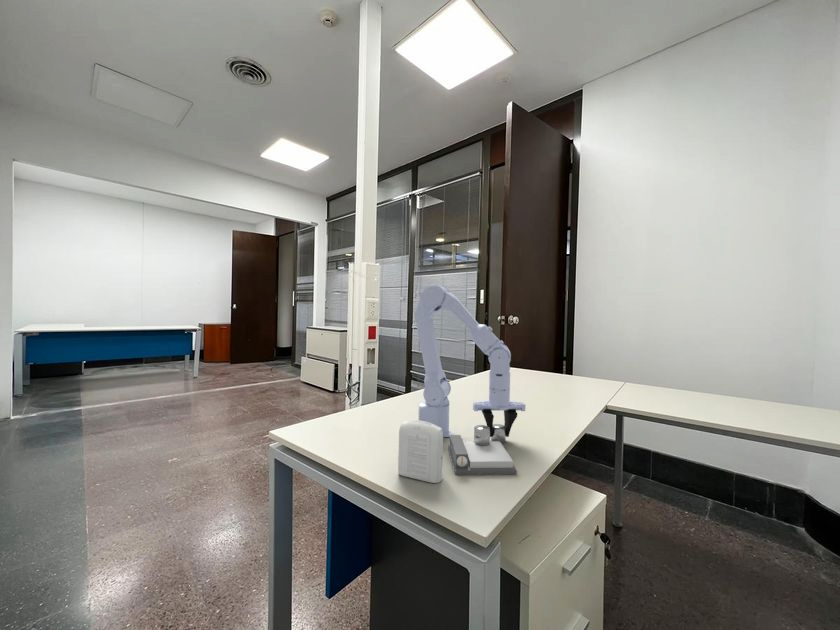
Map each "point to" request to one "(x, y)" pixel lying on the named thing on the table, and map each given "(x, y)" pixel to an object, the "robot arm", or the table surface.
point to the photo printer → (420, 451)
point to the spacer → (499, 433)
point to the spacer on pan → (482, 435)
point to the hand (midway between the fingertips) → (498, 435)
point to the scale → (479, 458)
